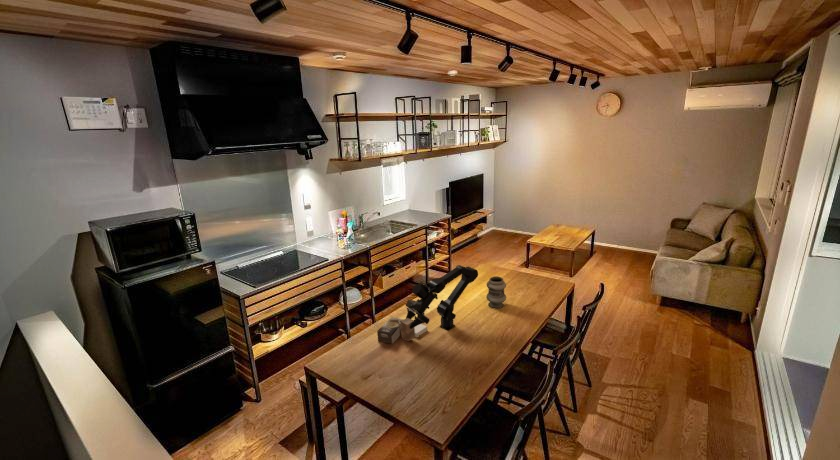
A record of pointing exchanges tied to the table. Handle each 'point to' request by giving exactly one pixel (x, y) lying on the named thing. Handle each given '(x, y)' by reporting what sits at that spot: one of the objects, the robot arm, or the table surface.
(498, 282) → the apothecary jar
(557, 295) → the table surface
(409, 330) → the walnut block
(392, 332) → the coffee box
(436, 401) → the table surface
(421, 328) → the base plinth
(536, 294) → the table surface
